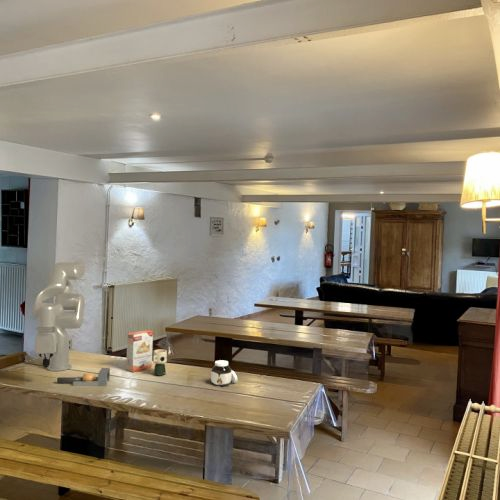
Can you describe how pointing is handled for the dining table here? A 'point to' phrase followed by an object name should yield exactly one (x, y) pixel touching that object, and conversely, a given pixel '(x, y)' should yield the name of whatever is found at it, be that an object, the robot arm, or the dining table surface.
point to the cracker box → (139, 350)
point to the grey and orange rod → (76, 378)
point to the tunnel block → (100, 381)
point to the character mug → (160, 361)
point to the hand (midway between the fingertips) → (46, 366)
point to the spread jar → (222, 374)
